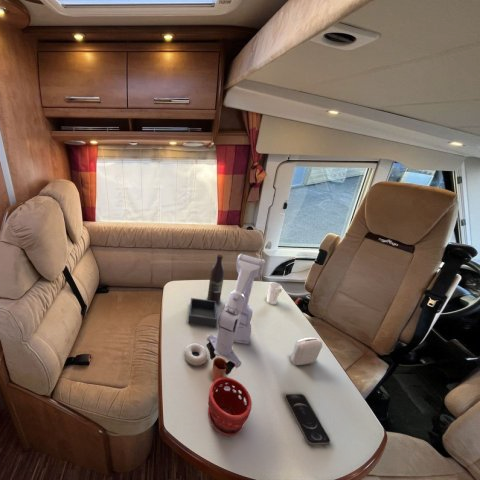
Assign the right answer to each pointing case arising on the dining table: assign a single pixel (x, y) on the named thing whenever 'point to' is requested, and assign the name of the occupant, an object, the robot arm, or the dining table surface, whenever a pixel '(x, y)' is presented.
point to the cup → (273, 292)
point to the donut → (195, 359)
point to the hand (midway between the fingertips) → (220, 365)
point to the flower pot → (228, 406)
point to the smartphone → (307, 419)
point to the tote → (203, 312)
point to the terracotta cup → (218, 369)
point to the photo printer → (306, 351)
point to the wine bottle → (216, 281)
